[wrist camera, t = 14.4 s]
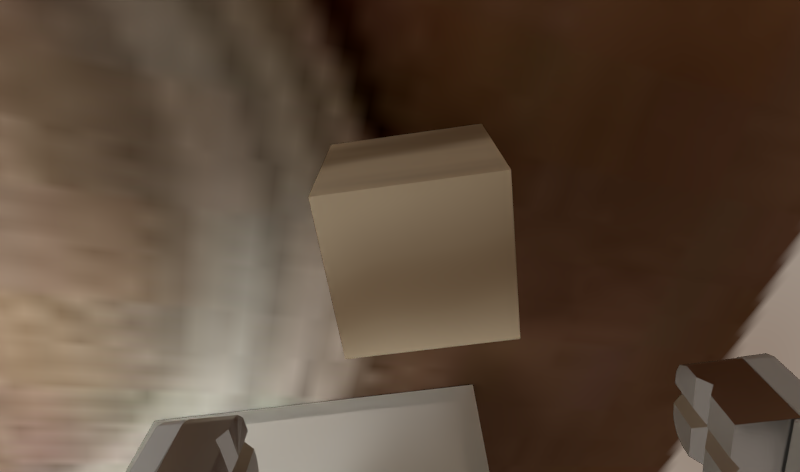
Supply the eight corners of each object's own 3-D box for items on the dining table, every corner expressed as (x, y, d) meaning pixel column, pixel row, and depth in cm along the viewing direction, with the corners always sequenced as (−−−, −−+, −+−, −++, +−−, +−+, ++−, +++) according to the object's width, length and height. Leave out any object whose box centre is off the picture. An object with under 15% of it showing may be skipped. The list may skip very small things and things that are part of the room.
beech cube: (331, 144, 18) (308, 197, 13) (481, 122, 17) (511, 169, 13) (357, 274, 20) (345, 359, 15) (491, 257, 19) (520, 338, 15)
